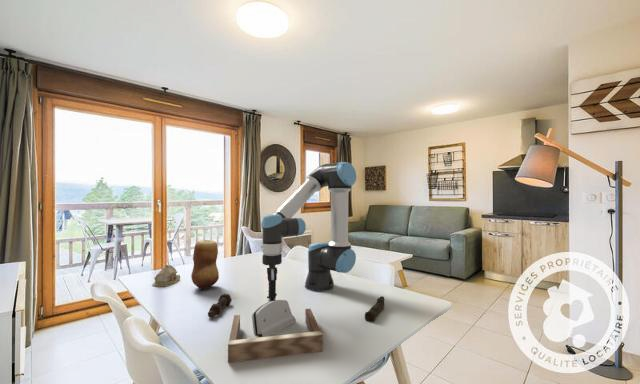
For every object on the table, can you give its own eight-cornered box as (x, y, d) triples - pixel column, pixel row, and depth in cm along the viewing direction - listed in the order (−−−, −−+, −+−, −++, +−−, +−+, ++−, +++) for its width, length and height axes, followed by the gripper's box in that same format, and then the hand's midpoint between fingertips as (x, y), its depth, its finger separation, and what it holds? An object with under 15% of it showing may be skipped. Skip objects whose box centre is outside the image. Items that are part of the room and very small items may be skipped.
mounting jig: (310, 321, 108) (310, 307, 108) (322, 351, 87) (322, 333, 87) (234, 329, 102) (234, 314, 102) (227, 362, 81) (227, 344, 81)
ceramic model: (166, 287, 150) (166, 268, 150) (148, 286, 152) (148, 267, 152) (183, 279, 164) (183, 262, 164) (166, 278, 166) (166, 261, 166)
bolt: (209, 324, 110) (224, 307, 125) (220, 318, 110) (233, 302, 125) (201, 311, 110) (217, 296, 125) (212, 305, 110) (227, 290, 125)
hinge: (262, 338, 95) (256, 308, 97) (254, 339, 98) (248, 309, 100) (296, 321, 108) (289, 294, 111) (288, 322, 111) (281, 296, 113)
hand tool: (374, 323, 106) (374, 311, 106) (364, 321, 108) (364, 309, 108) (389, 307, 123) (389, 296, 123) (380, 305, 125) (380, 294, 125)
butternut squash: (221, 289, 146) (221, 240, 146) (193, 294, 138) (193, 243, 139) (214, 282, 157) (214, 237, 158) (188, 287, 150) (188, 239, 150)
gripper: (262, 250, 118) (262, 308, 117) (262, 257, 105) (262, 321, 104) (280, 250, 119) (280, 306, 119) (282, 256, 106) (282, 319, 106)
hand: (271, 313), depth 112 cm, fingers closed
